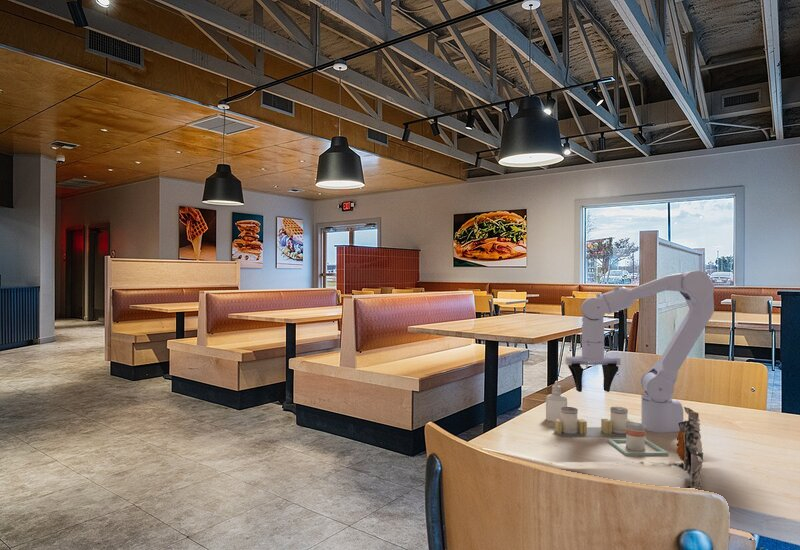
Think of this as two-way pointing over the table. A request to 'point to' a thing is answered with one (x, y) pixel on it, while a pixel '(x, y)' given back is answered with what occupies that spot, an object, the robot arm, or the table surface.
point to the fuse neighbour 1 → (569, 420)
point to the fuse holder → (589, 429)
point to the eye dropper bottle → (555, 403)
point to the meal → (690, 447)
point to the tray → (659, 453)
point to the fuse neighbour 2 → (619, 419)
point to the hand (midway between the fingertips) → (592, 391)
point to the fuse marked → (635, 436)
